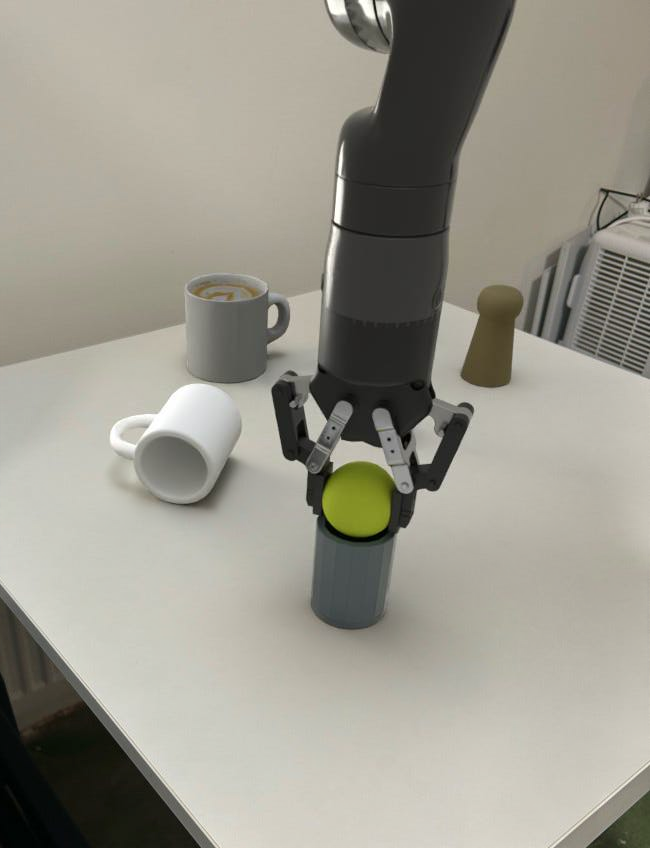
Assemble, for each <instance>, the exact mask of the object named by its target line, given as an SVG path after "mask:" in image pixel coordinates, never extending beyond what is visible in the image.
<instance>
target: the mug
mask: <svg viewBox="0 0 650 848" xmlns="http://www.w3.org/2000/svg"><path fill="white" fill-rule="evenodd" d="M242 425H243V423H242V416H241V413H240V410H239V407H238V406H237V404H236V403H235V401H234V400H233V399H232V397H230V396H229V395H228V394H227V393H226V392H225V391H223V390H222V389H220V388H218V387H216V386H213V385H211V384H208V383H201V382H200V383H190V384H186V385H183V386H181V387H180V388H178V389H176V391H174V393H172V395H171V396H170V397H169V398H168V400H167V401H166V403H165V404H164V405H163V407H162V408H161V409H160V411H159V412H158V414H157V413H144V414H143V413H141V414H136V415H131V416H128V417H125V418H123V419H120V420H119V421H117V422H116V423H115V424H114V425H113V426H112V428H111V431H110V433H109V444H110V447H111V449H112V450H113V452H114V453H115V454H117V455H118V456H121V457H122V458H124V459H127V460H130V461H132V463H133V468H134V473H135V475H136V476H137V478H138V480H139V481H140V483H141V484H142V485H143V487H144V488H145V489H146V490H147V491H148V492H150V494H152V495H153V496H155V497H156V498H158V499H161V500H162V501H165V502H167V503H170V504H177V505H189V504H193V503H196V502H198V501H201V500H202V499H204V498H205V497H207V495H208V494H209V493H210V492H211V491H212V489H213V488H214V487H215V484H216V482H217V481H218V478H219V477H220V474H221V473H222V471H223V469H224V467H225V465H226V463H227V461H228V460H229V457H230V455H231V454H232V452H233V450H234V449H235V446H236V444H237V442H238V440H239V439H240V436H241V433H242V427H243V426H242ZM134 429H146V430H145V432H144V433H143V434H142V436H141V437H140V438H139V440H138V441H137V443H136V444H135V443H130V442H128V441H125V440H124V439H122V437H123V435H125V433H126V432H128V431H130V430H134Z"/></svg>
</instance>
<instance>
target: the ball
mask: <svg viewBox="0 0 650 848" xmlns="http://www.w3.org/2000/svg"><path fill="white" fill-rule="evenodd" d="M395 487H396V483H395V480H394V477H392V475H391V474H390V473H389V472H388V471H387V469H385V468H383V467H382V466H381V465H378V464H376V463H374V462H370V461H365V460H364V461H363V460H357V461H351V462H347V463H345V464H343V465H341V466H339V467H338V468H337V469H335V470H333V473H332V474H331V475H330V477H329V478H328V480H327V482H326V485H325V488H324V492H323V497H322V507H323V511H324V514H325V516H326V518H327V520H328V521H329V522H330V524H331V525H332V526H333V527H334V528H335V529H337V530H338V531H340V532H341V533H343V534H345V535H348V536H352V537H368V536H372V535H375V534H377V533H379V532H381V531H382V530H383V529H385V528H386V527H387V526H388V525H389V518H390V510H391V503H392V496H393V491H394V489H395Z"/></svg>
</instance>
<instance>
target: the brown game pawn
mask: <svg viewBox="0 0 650 848" xmlns="http://www.w3.org/2000/svg"><path fill="white" fill-rule="evenodd" d="M523 307H524V295H523V294H522V292H521V290H519V289H517V288H516V287H514V286H510V285H505V284H494V285H493V284H491V285H488V286H486V287H484V288H483V289H482V290H481V291H480V293H479V294H478V297H477V301H476V310H477V311H478V314H479V315H478V318H477V322H476V325H475V328H474V330H473V334H472V338H471V340H470V343H469V346H468V349H467V352H466V355H465V359H464V362H463V364H462V368H461V371H460V376H461V378H462V379H463V380H464V381H466V382H467V383H469V384H471V385H475V386H479V387H485V388H498V387H499V388H500V387H503V386H507V385H508V384H509V383H510V382H511V381H512V368H513V355H514V340H515V328H516V319H517V318H518V317H519V316H520V314H521V313H522V310H523Z"/></svg>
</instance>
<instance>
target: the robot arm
mask: <svg viewBox="0 0 650 848" xmlns="http://www.w3.org/2000/svg"><path fill="white" fill-rule="evenodd" d="M517 2H518V0H323V4H324V8H325V11H326V14H327V16H328V18H329V20H330V22H331V24H332V26H333V27H334V29H335V31H337V33H338V34H339V35H340V36H341V37H342V38H343V39H345V40H346V41H347V42H349V43H350V44H352V45H353V46H355V47H357V48H359V49H362V50H364V51H369V52H373V53H376V54H377V53H378V54H384V55H388V57H387V58H388V59H387V63H386V67H385V70H384V74H383V78H382V82H381V85H380V88H379V92H378V94H377V98H376V101H375V104H374V105H370V106H366V107H363V108H360V109H358V110H355V111H354V112H352V113H351V114H350V115H348V117H347V118H346V119H345V120H344V121H343V122H342V125H341V127H340V130H339V134H338V138H337V143H336V148H335V149H336V150H335V159H334V177H333V191H332V203H331V204H332V205H331V219H330V225H329V232H328V237H327V242H326V247H325V250H324V251H325V252H324V260H323V271H322V273H321V279H320V290H321V300H320V301H321V302H320V316H319V317H320V318H319V333H318V348H317V349H318V350H317V365H316V368H315V370H314V373H312V375H299V374H298V373H297V372H296V371H294V370H286V371H285V372H284V373H283V375H281V376H280V377H279V378H278V379H277V380H276V382H275V383H274V384H273V385H272V387H271V389H270V393H271V399H272V404H273V408H274V414H275V419H276V425H277V431H278V435H279V436H278V437H279V440H280V441H279V442H280V447H281V450H282V451H281V453H282V455H283V457H284V459H285V460H287V461H289V462H295V461H297V462H299V463H301V464H302V465H304V466H305V469H306V470H307V476H306V493H305V501H306V504H307V506H308V507H311V508H312V515H315V516H323V514H324V511H323V507H322V497H323V492H324V488H325V485H326V482H327V480H328V478H329V477H330V475H331V474H332V473H333V472H334V461H331V455H332V454H333V452H334V450H335V448H336V447H337V445H338V443H339V441H340V440H341V441H344V442H350V443H357V442H358V443H360V442H362V443H365V444H368V446H372V447H374V448H379V449H382V451H383V454H384V458H385V461H386V464H387V466H388V467H390V469H391V473H392V476H393V480H394V482H395V484H396V487H395V489H394V491H393V496H392V503H391V510H390V518H389V525H388V532H391V533H395V534H397V535H398V534H399V532H400V530H401V529H407V527H408V526H409V524H410V522H411V519H412V518H413V516H414V514H415V507H416V502H417V495H418V491H420V490H426V491H428V492H437V491H439V490H440V488H441V486H442V484H443V482H444V480H445V477H446V475H447V473H448V472H449V469H450V467H451V465H452V463H453V460H454V458H455V456H456V454H457V452H458V450H459V448H460V445H461V443H462V441H463V440H464V437H465V435H466V433H467V430H468V428H469V425H470V423H471V422H472V418H473V416H474V413H475V408H474V406H473V405H472V404H471V403H469V402H467V401H463V402H460V403H459V404H457V405H455V404H452V403H450V402H449V401H448V402H447V401H445V400H442V399H440V398H437V394H436V391H435V388H434V386H433V382H432V375H433V368H434V361H435V355H436V349H437V343H438V335H439V329H440V322H441V316H442V310H443V304H444V297H445V290H446V284H447V279H448V278H447V277H448V272H449V271H448V270H449V262H450V261H449V260H450V259H449V258H450V230H451V223H452V218H453V217H452V216H453V211H454V205H455V197H456V190H457V183H458V178H459V177H458V176H459V168H460V158H461V155H462V150H463V147H464V145H465V142H466V140H467V138H468V136H469V133H470V130H471V128H472V126H473V124H474V121H475V119H476V116H477V115H478V112H479V111H480V110H479V109H480V107H481V104H482V102H483V99H484V96H485V93H486V91H487V89H488V86H489V84H490V81H491V78H492V76H493V73H494V71H495V68H496V66H497V63H498V61H499V58H500V56H501V53H502V50H503V48H504V45H505V43H506V40H507V37H508V34H509V31H510V28H511V25H512V22H513V19H514V14H515V11H516V8H517V7H516V6H517ZM309 394H310V395H311V397H312V398H313V400H314V402H315V403H316V405H317V407H318V408H319V410H320V411H321V414H322V415H323V416H324V419H325V420H326V423H325V425H324V427H323V429H322V430H321V433H320V434H319V436H318V438H317V440H316V442H315V441H313V440H312V439H310V435H309V429H308V425H307V418H306V412H305V404H306V403H307V401H308V400H309ZM428 416H429V417H431V418H432V419H433V422H434V426H433V431H434V433H435V435H436V436H437V437H438V438H441V440H440V442H439V445H438V448H437V449H436V452H435V454H434V456H433V458H432V460H431V462H430V463H422V464H421V463H420V460H419V459H420V458H419V455H418V452H417V440H416V434H415V431H414V428H415V427H417V426H418V425H420V423H421V422H422V421H423V420H425V419H426V418H427V417H428Z"/></svg>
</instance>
